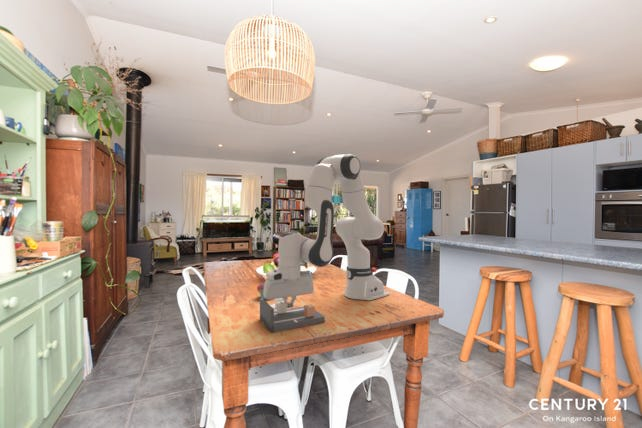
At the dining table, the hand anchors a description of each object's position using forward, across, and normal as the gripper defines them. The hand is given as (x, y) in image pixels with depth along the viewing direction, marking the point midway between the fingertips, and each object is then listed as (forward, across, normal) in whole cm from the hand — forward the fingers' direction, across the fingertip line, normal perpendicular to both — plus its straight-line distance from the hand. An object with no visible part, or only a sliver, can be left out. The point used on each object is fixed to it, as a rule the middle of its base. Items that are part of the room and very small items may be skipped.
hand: (289, 307), depth 114 cm
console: (+4, 0, +4) cm, 5 cm away
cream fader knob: (+1, +3, 0) cm, 3 cm away
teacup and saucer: (+4, +2, -16) cm, 16 cm away
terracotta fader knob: (+1, -5, +8) cm, 10 cm away
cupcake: (+4, +1, -28) cm, 28 cm away
